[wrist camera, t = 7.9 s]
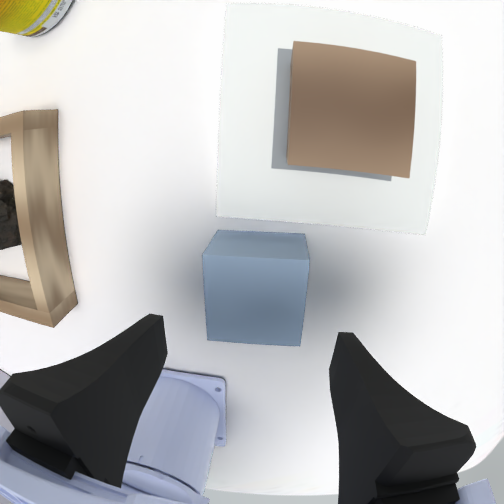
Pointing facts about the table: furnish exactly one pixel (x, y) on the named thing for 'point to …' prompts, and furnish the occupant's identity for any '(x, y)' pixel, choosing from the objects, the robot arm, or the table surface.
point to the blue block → (256, 287)
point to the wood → (8, 217)
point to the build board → (276, 122)
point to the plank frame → (38, 221)
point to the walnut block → (351, 109)
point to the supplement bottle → (31, 15)
